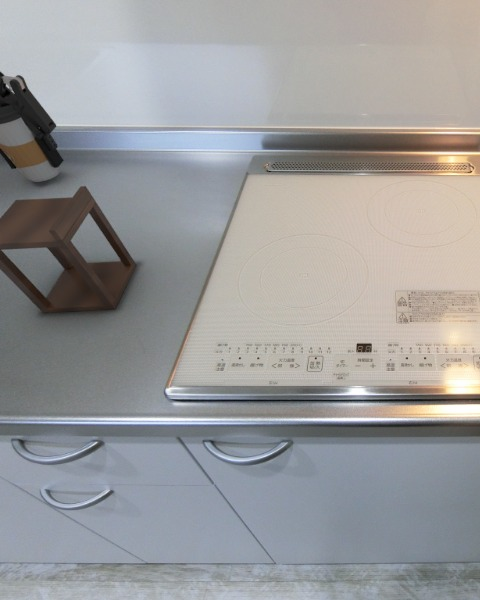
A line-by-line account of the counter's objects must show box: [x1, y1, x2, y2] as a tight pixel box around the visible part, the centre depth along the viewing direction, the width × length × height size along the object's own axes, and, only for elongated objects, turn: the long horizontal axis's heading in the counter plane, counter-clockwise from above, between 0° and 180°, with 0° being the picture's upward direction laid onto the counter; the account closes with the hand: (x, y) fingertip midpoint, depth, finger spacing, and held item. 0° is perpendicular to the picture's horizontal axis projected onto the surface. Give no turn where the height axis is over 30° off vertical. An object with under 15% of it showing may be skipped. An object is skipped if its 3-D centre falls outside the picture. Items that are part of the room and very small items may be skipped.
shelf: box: [0, 185, 137, 314], centre depth 65 cm, size 11×10×16 cm
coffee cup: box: [0, 95, 61, 183], centre depth 85 cm, size 8×8×15 cm
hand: (37, 164), depth 89 cm, fingers closed on coffee cup, 7 cm apart
